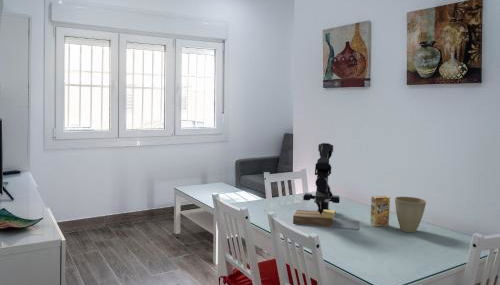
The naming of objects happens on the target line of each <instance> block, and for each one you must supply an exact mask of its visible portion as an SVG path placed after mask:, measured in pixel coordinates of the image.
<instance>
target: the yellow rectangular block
mask: <svg viewBox="0 0 500 285" xmlns="http://www.w3.org/2000/svg"><path fill="white" fill-rule="evenodd" d="M335 215H336V210H333V209H332V210H331V209H329V210H323V213H322V217H324V218H333V219H335Z"/></svg>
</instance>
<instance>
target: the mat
mask: <svg viewBox="0 0 500 285" xmlns="http://www.w3.org/2000/svg"><path fill="white" fill-rule="evenodd" d="M331 228H334V229H342V230H352V231H353V230H354V231H359V229H360V221H358V220H350V219H340V218H339V219H338V218H333V223H332V227H331Z"/></svg>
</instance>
